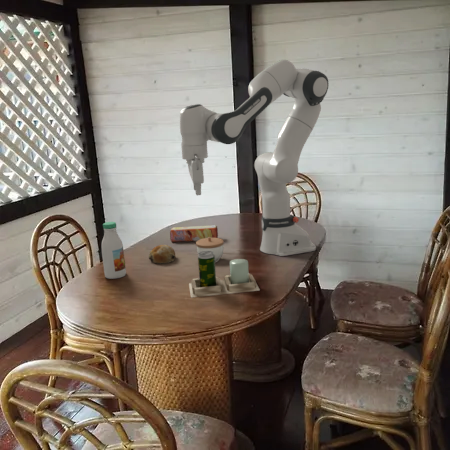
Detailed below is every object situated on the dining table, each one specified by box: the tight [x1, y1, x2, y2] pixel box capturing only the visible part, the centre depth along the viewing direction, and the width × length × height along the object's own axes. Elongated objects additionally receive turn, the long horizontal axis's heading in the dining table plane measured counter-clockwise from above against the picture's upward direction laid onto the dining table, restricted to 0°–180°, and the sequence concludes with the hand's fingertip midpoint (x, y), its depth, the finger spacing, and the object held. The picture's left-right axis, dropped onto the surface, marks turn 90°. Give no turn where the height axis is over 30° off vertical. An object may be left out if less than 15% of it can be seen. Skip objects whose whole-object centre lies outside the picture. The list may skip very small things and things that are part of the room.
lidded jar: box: [195, 237, 225, 263], centre depth 184 cm, size 11×11×9 cm
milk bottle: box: [101, 221, 127, 280], centre depth 172 cm, size 8×8×20 cm
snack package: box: [169, 224, 219, 243], centre depth 212 cm, size 21×7×7 cm, turn 84°
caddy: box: [188, 273, 261, 298], centre depth 155 cm, size 22×12×3 cm, turn 97°
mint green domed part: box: [229, 258, 249, 284], centre depth 154 cm, size 6×6×8 cm
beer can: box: [197, 251, 217, 287], centre depth 153 cm, size 5×5×12 cm
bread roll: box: [148, 244, 176, 264], centre depth 188 cm, size 10×10×8 cm
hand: (197, 192), depth 167 cm, fingers open, 8 cm apart
